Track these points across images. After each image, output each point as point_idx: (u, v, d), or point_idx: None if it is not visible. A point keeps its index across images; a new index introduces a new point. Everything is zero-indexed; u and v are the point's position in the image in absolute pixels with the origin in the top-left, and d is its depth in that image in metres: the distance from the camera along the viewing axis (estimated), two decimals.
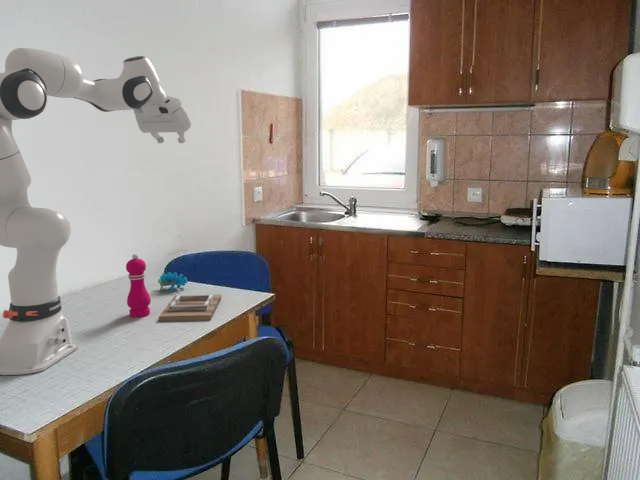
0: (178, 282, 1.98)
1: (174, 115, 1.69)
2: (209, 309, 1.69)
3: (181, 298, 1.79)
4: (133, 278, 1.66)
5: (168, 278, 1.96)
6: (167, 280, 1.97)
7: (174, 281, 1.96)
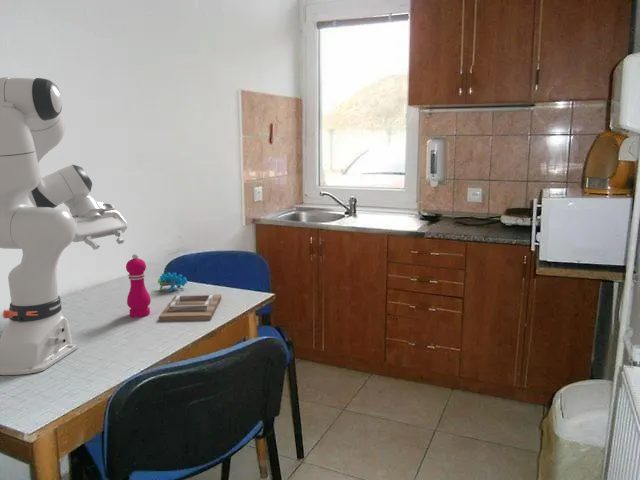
0: (178, 282, 1.98)
1: (117, 211, 1.81)
2: (209, 309, 1.69)
3: (181, 298, 1.79)
4: (133, 278, 1.66)
5: (168, 278, 1.95)
6: (167, 280, 1.97)
7: (174, 281, 1.96)
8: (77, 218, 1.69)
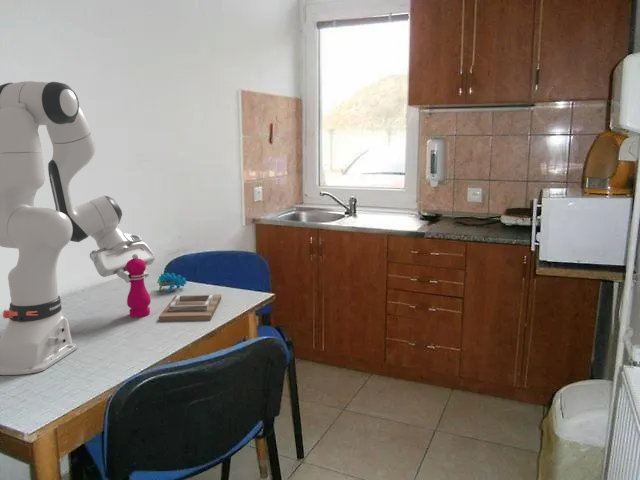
0: (177, 283, 1.97)
1: (144, 243, 1.76)
2: (209, 309, 1.69)
3: (181, 298, 1.79)
4: (133, 278, 1.66)
5: (167, 278, 1.95)
6: (166, 280, 1.96)
7: (173, 282, 1.95)
8: (105, 252, 1.64)
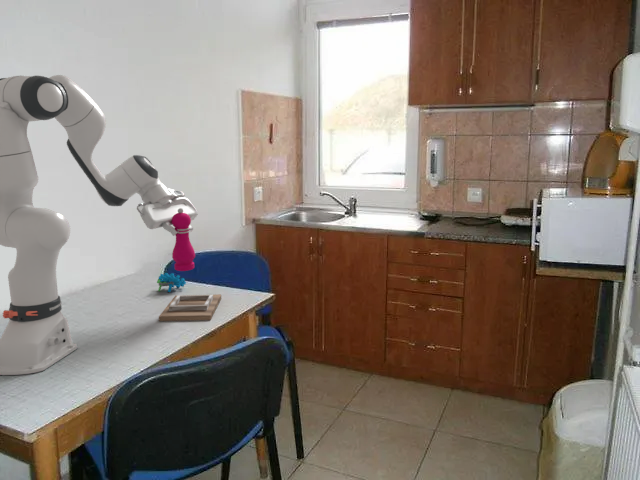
0: (176, 283, 1.97)
1: (186, 198, 1.78)
2: (209, 309, 1.69)
3: (181, 298, 1.79)
4: (179, 232, 1.67)
5: (166, 279, 1.95)
6: (166, 281, 1.96)
7: (172, 282, 1.95)
8: (152, 205, 1.66)
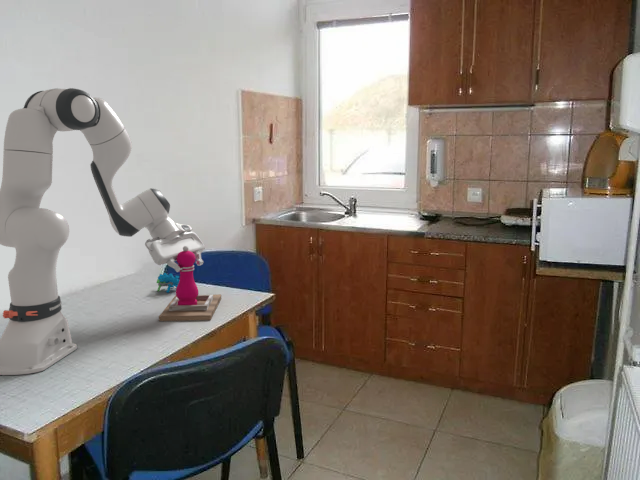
0: (176, 283, 1.96)
1: None
2: (209, 309, 1.69)
3: None
4: (183, 270, 1.68)
5: (165, 279, 1.95)
6: (165, 281, 1.96)
7: (171, 282, 1.95)
8: (160, 240, 1.68)
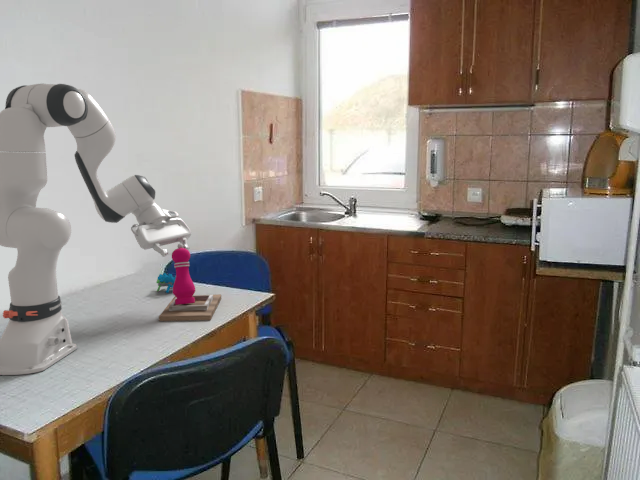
0: None
1: (180, 219, 1.82)
2: (209, 309, 1.69)
3: None
4: (179, 265, 1.71)
5: (165, 279, 1.94)
6: (165, 281, 1.96)
7: (171, 282, 1.95)
8: (146, 225, 1.70)
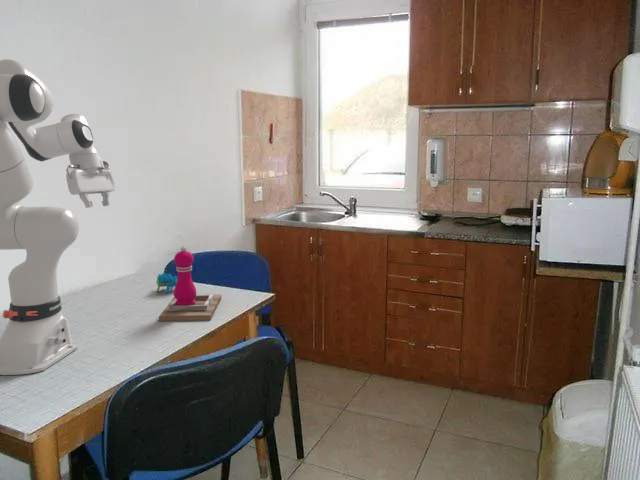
0: (175, 284, 1.96)
1: None
2: (209, 309, 1.69)
3: None
4: (181, 270, 1.68)
5: (164, 279, 1.94)
6: (164, 281, 1.96)
7: (170, 282, 1.94)
8: (81, 171, 1.65)
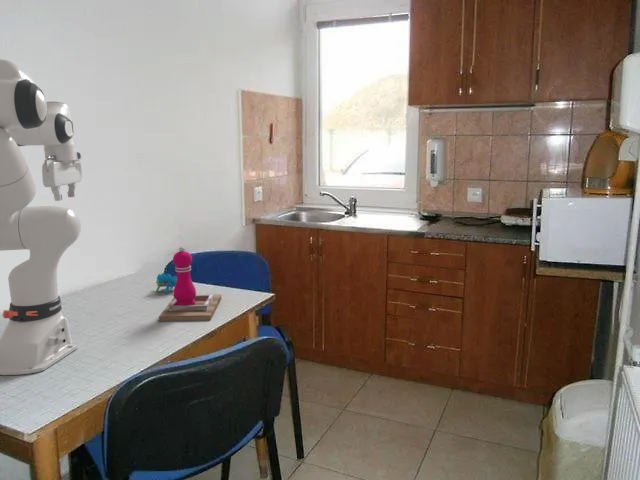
0: (174, 284, 1.96)
1: (80, 162, 1.76)
2: (209, 309, 1.69)
3: None
4: (180, 270, 1.68)
5: (164, 279, 1.94)
6: (164, 281, 1.96)
7: (169, 283, 1.94)
8: (58, 164, 1.61)
